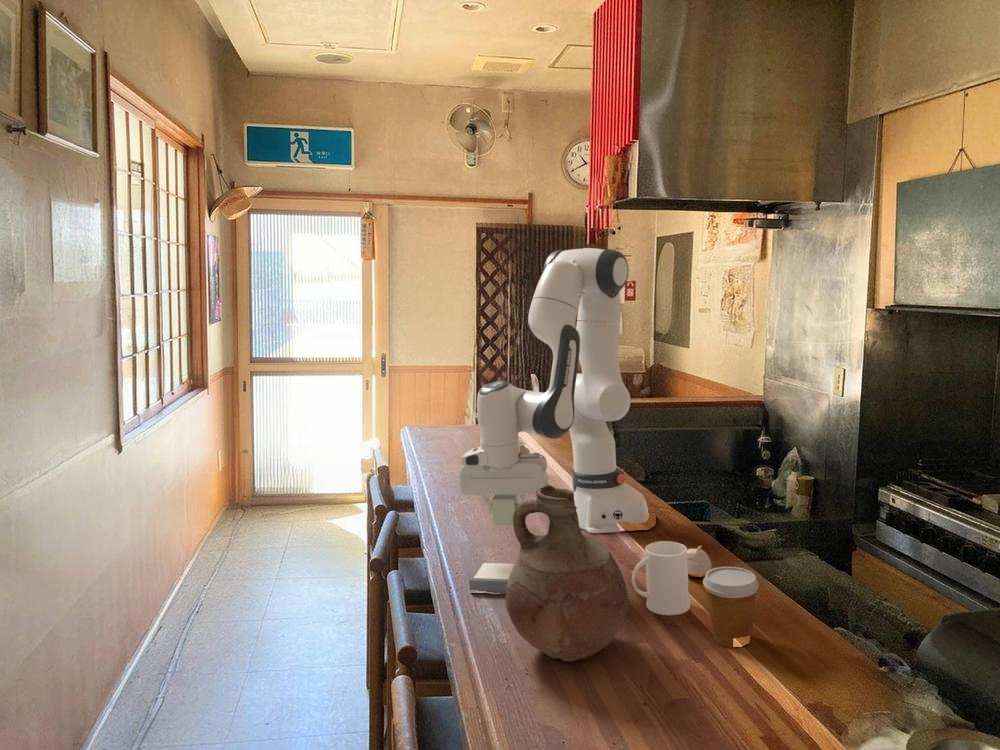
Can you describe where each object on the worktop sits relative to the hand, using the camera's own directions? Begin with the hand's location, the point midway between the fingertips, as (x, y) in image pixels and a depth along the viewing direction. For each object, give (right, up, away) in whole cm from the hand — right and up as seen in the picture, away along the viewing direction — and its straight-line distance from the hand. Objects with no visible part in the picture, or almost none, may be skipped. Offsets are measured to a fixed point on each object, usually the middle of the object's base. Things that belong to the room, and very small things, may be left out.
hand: (506, 512), depth 179 cm
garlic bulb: (+41, -12, -11) cm, 44 cm away
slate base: (-2, -14, -8) cm, 17 cm away
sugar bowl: (+4, -2, +76) cm, 76 cm away
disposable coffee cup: (+40, -16, -39) cm, 58 cm away
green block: (0, -2, 0) cm, 2 cm away
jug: (+11, -18, -39) cm, 45 cm away
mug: (+30, -15, -24) cm, 41 cm away
